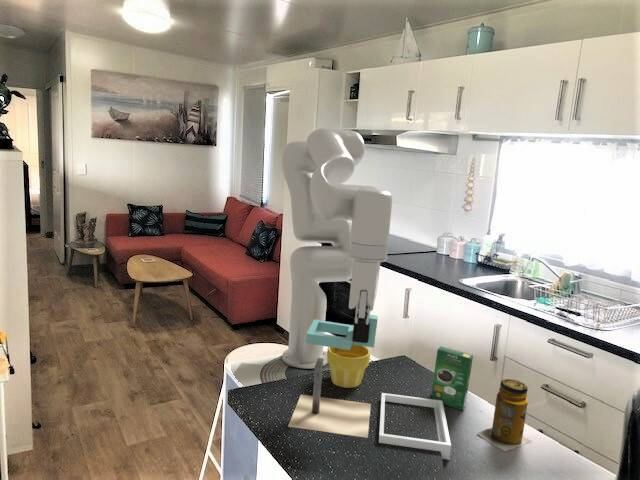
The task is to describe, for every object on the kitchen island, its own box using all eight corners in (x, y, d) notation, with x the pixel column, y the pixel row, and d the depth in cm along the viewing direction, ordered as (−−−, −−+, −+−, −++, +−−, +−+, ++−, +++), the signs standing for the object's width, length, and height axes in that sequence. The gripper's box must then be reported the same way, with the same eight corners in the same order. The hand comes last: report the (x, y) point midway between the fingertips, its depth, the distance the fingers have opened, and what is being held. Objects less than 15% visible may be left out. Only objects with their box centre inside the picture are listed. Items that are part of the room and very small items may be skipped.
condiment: (530, 441, 104) (539, 387, 102) (505, 452, 99) (513, 396, 97) (501, 424, 110) (508, 373, 108) (475, 434, 105) (482, 381, 103)
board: (300, 400, 114) (300, 394, 114) (370, 410, 112) (370, 403, 112) (287, 433, 101) (288, 426, 100) (367, 444, 99) (367, 437, 98)
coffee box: (467, 406, 117) (474, 353, 115) (464, 411, 115) (470, 357, 112) (433, 396, 121) (439, 345, 119) (430, 401, 118) (436, 348, 116)
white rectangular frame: (380, 404, 115) (381, 392, 114) (440, 413, 113) (442, 400, 113) (378, 449, 97) (379, 435, 97) (449, 459, 95) (451, 445, 95)
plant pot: (368, 398, 118) (371, 359, 116) (324, 394, 118) (327, 355, 116) (365, 379, 128) (368, 342, 126) (325, 375, 128) (328, 339, 127)
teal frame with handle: (312, 328, 109) (315, 301, 108) (374, 337, 107) (378, 311, 106) (305, 343, 100) (308, 314, 99) (373, 353, 98) (377, 324, 97)
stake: (313, 406, 109) (317, 357, 107) (320, 407, 109) (324, 358, 107) (309, 417, 104) (313, 367, 103) (317, 418, 104) (321, 368, 102)
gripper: (352, 243, 108) (346, 324, 111) (345, 257, 92) (338, 351, 95) (387, 246, 107) (380, 328, 110) (386, 261, 91) (377, 356, 94)
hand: (360, 338), depth 103 cm, fingers closed on teal frame with handle
